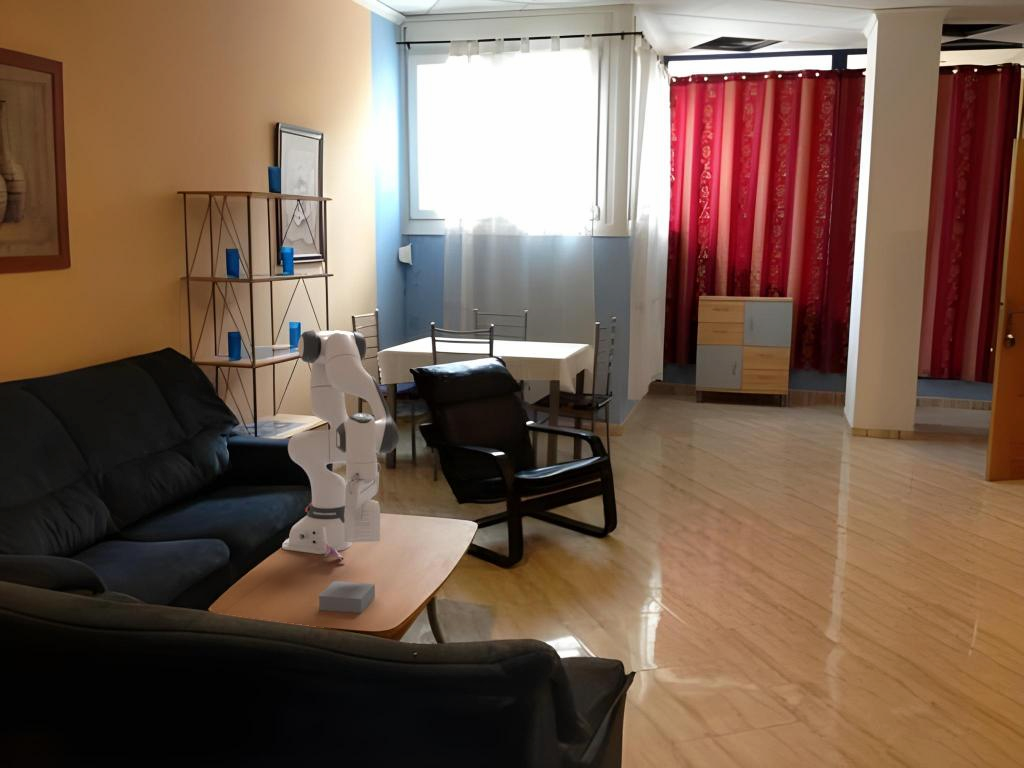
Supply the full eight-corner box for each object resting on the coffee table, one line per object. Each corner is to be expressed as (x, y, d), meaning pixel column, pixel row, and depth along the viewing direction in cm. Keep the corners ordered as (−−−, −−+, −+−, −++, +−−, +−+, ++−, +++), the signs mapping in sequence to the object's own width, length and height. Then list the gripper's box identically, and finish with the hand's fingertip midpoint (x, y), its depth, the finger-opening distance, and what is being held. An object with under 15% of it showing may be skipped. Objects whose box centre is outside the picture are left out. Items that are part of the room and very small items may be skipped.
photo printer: (379, 538, 269) (379, 497, 268) (380, 542, 265) (380, 500, 263) (344, 539, 267) (344, 498, 266) (344, 543, 263) (344, 501, 261)
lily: (336, 574, 279) (347, 544, 281) (301, 560, 281) (313, 531, 283) (346, 574, 291) (357, 545, 293) (312, 561, 293) (324, 533, 294)
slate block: (319, 609, 250) (319, 595, 250) (334, 594, 262) (334, 581, 261) (361, 613, 248) (361, 599, 248) (374, 597, 260) (374, 583, 260)
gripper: (360, 478, 253) (361, 527, 254) (382, 463, 273) (382, 508, 274) (339, 477, 254) (339, 526, 255) (362, 462, 274) (362, 507, 275)
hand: (362, 516), depth 265 cm, fingers closed on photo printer, 5 cm apart
